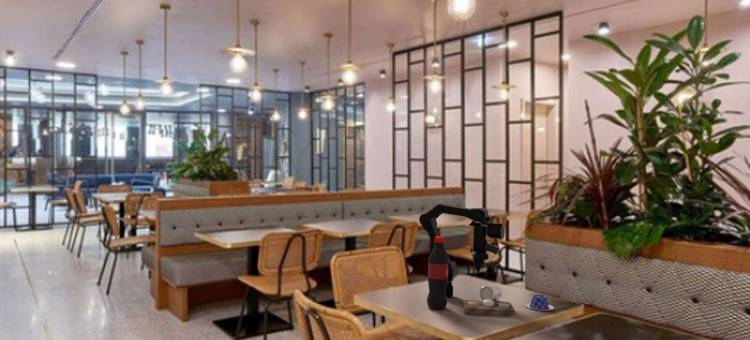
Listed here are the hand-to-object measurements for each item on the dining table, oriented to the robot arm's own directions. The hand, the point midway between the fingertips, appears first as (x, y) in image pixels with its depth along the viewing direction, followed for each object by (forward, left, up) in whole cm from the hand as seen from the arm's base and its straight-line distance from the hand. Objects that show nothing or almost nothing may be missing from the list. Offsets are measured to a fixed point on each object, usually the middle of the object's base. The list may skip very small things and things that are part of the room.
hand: (478, 272), depth 234 cm
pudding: (+26, -4, -14) cm, 30 cm away
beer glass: (+8, +5, -10) cm, 14 cm away
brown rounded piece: (-4, -14, -13) cm, 19 cm away
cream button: (+3, -14, -12) cm, 18 cm away
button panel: (+3, -14, -13) cm, 19 cm away
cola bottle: (-18, -14, -13) cm, 26 cm away
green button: (+9, -14, -13) cm, 21 cm away
